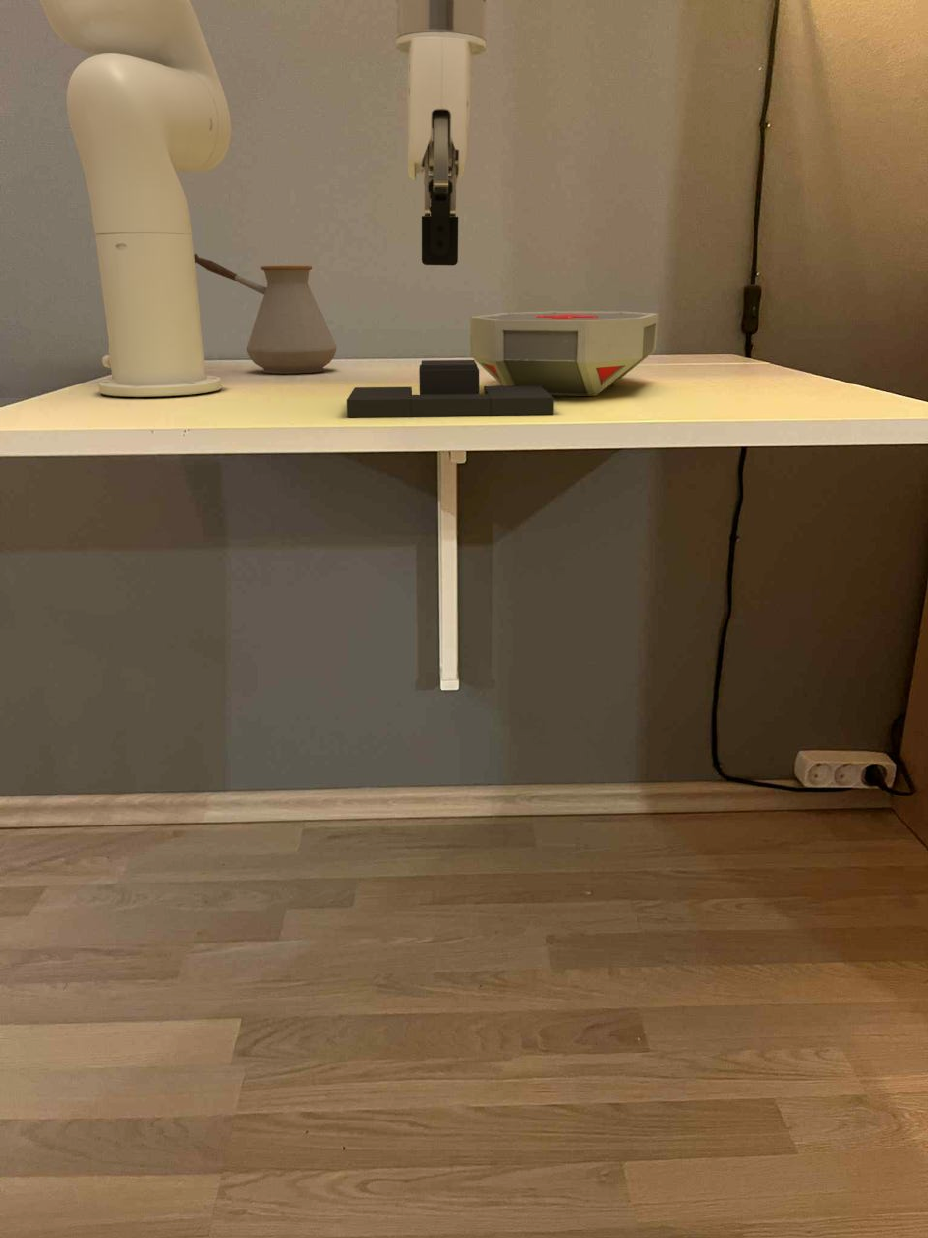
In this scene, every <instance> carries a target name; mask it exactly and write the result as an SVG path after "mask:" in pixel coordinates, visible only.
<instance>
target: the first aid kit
mask: <svg viewBox="0 0 928 1238" xmlns="http://www.w3.org/2000/svg"><path fill="white" fill-rule="evenodd" d="M469 324H470V325H469V336H470V337H469V344H470V345H469V349H470V351H469V353H470V354H469V355H470V357H471V358H472V359H473V360H475V362H476V363H478V364H479V365H480V367H482V368H483V369H484V371H486V372H487V373H488V374H489V375H490V376H491V377H492V378H494V380H496V381H497V382H498V383H499V384H500V386H509V385H541V386H542V387H543V388H544V389H545V390H546V391H547V392H548V393H549V394H550V395H551V396H573V397H575V396H576V397H578V396H579V397H596V396H598V395H599V394H600V393H601V392H602V391H604V390H605V389H606V388H608V386H611V385H612V386H613V385H615V384H616V383H617V382H618V381H620V380H621V379H622V378H624V377H625V376H626V375H627V374H628V373H630V372H631V371H632V370H633V369H634V368H636V367H637V366H638V365H640V363H642V362H643V361H644V360H646V359H647V358H648V357H649V356H651V354H653V353H654V352H655V351H656V350H657V343H658V342H657V341H658V327H659V326H658V325H659V313H653V312H638V311H637V312H635V311H527V312H526V311H525V312H522V311H521V312H501V313H494V314H486V315H485V314H484V315H478V316H471V317H469Z"/></svg>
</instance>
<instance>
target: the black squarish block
mask: <svg viewBox="0 0 928 1238" xmlns="http://www.w3.org/2000/svg"><path fill="white" fill-rule="evenodd" d="M418 371H419V373H418V375H419V395H435V394H480V368H479V366H478V364H477V361H476V360H475V359H433V360H432V359H429V360H428V359H425V360H421V364H420V365H419V370H418Z"/></svg>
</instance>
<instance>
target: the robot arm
mask: <svg viewBox="0 0 928 1238" xmlns="http://www.w3.org/2000/svg"><path fill="white" fill-rule="evenodd" d="M39 3H40V5H41V7H42V9H43V12H44V15H45V16H46V19H47V21H48V22H49V25H50V27H51V28H52V29H53V31H54V33H55V34H56V35H57V37H58V38H60V40H61V41H63V42H64V43H66V44H68V45H69V46H71V47H73V48H75V49H77V50H80V51H83V52H85V53H88V54H91V55H92V56H90V57H87V58H86V59H85V60H83V61H82V62H81V63H80V64H78V65H77V67H76V68H75V69H74V71H73V72H72V74H71V76H70V79H69V81H68V84H67V90H66V111H67V117H68V121H69V126H70V130H71V133H72V136H73V140H74V142H75V145H76V146H75V147H76V148H77V151H78V154H79V155H78V156H79V158H80V162H81V165H82V168H83V172H84V173H83V174H84V177H85V181H86V186H87V193H88V197H89V204H90V211H91V217H92V218H91V219H92V225H93V233H94V238H95V245H96V253H97V260H98V268H99V276H100V283H101V292H102V299H103V307H104V313H105V314H104V315H105V324H106V330H107V339H108V347H107V348H108V354H105V355H103V356H102V358H101V363H102V365H103V366H104V368H109V369H110V371H111V378H109V379H105V380H101V381H99V382H98V391H99V393H100V394H102V395H106V396H111V397H112V396H113V397H132V398H133V397H134V398H138V397H139V398H141V397H142V398H144V397H145V398H146V397H147V398H148V397H152V398H153V397H172V396H174V397H175V396H188V395H196V394H205V393H212V392H216V391H219V390H221V389H222V387H223V386H222V379H221V378H220V377H219V376H214V375H207V373H206V362H205V361H206V360H205V351H204V343H203V341H204V340H203V331H202V322H201V321H202V320H201V311H200V299H199V298H200V297H199V290H198V279H197V267H196V263H195V257H194V254H195V247H194V239H193V238H194V237H193V231H192V230H193V229H192V220H191V214H190V213H191V212H190V208H189V204H188V199H187V196H186V194H185V192H184V188H183V185H182V184H181V181H180V179H179V177H178V174H177V172H178V173H187V174H188V173H189V174H190V173H191V174H196V173H197V174H198V173H204V172H207V171H210V170H212V169H214V168H215V167H217V166H218V165H219V164H221V162H223V160H224V158H225V156H226V154H227V153H228V150H229V147H230V144H231V138H232V121H231V114H230V108H229V105H228V101H227V98H226V94H225V92H224V89H223V86H222V83H221V80H220V78H219V75H218V71H217V69H216V66H215V64H214V61H213V59H212V55H211V53H210V50H209V47H208V44H207V41H206V38H205V36H204V33H203V30H202V28H201V27H202V26H201V24H200V22H199V20H198V16H197V14H196V11H195V8H194V6H193V5H192V3H191V0H39ZM487 3H488V0H395V50H397V52H400V53H402V54H405V55H408V59H407V74H406V75H407V77H406V79H407V80H406V86H407V87H406V139H407V140H406V141H407V143H406V145H407V146H406V147H407V148H406V149H407V150H406V151H407V156H406V157H407V159H406V160H407V161H406V162H407V175H408V177H409V178H410V179H411V180H412V181H417V174H418V175H419V174H422V175H423V173H424V177H423V185H424V215H422V216H421V262H422V264H423V265H424V266H456V265H457V264H458V262H459V216H457V182H458V181H459V180H460V179H461V178H463V177H464V173H465V168H466V163H467V155H468V146H469V134H470V118H471V90H472V89H471V88H472V87H471V86H472V83H471V82H472V57H476V56H478V55H481V54H484V53H485V52H486V49H487V6H488V5H487Z"/></svg>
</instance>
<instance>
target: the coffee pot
mask: <svg viewBox="0 0 928 1238" xmlns="http://www.w3.org/2000/svg"><path fill="white" fill-rule="evenodd" d="M194 257H195V264H197V265H199V266H201V267H202V268H204V269H205V270H207V271H208V272H211V273H213V274H215V275H219V276H221V277H223V278H226V279H229V280H231V281H234V282H237V283H239V284H241V285H244V286H245V287H246V288H248V289H251V290H253V291H256V292H258V293H259V294H261V295H263V296H262V298H261V302H260V305H259V309H258V312H257V314H256V318H255V321H254V324H253V327H252V331H251V333H250V337H249V340H248V343H247V346H246V352H247V355H248V357H249V358H250V360H251V361H252V362H253V363H254V364H255V365H257V366H258V367H260V368H262V369H263V371H262V373H267V374H286V375H287V374H288V375H289V374H290V375H291V374H311V373H319V372H323V371H324V367H326V366H327V365H328V364H330V363H331V361H332V360H333V359H334V358H335V356H336V353H337V348H338V347H337V344H336V341H335V340H334V338H333V335H332V333H331V331H330V329H329V327H328V324H327V322H326V320H325V317H324V316H323V313H322V311H321V309H320V306H319V305H318V303H317V300H316V298H315V296H314V294H313V291H312V290H311V287H310V285H309V276H310V271H311V270H313V266H312V265H261V266H260V270H261V271H263V273H264V276H265V279H266V286H264V285H261V284H259V283H256V282H255V281H252V280H250V279H247V278H245V277H243V276H240V275H238V274H237V273H236V272H233V271H231V270H230V269H228V268H226V267H224V266H222V265H221V264H218V263H216V262H214V261H213V260H209V259H206V258H202V257H199V256H198V254H197V253H194Z"/></svg>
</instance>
